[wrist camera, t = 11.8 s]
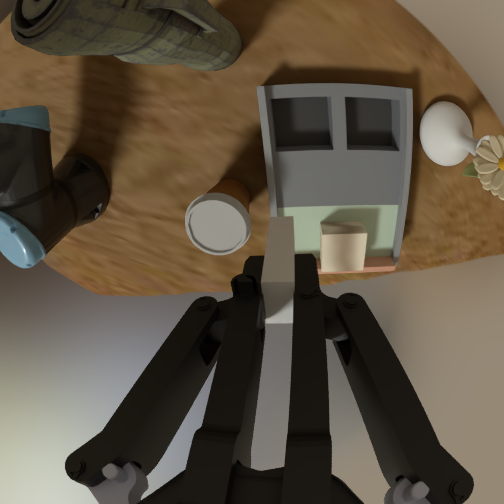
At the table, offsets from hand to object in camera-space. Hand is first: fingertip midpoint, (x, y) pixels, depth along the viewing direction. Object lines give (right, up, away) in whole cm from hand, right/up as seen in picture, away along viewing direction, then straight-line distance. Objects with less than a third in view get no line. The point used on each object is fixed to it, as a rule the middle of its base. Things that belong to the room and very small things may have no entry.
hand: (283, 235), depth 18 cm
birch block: (+13, +1, +27) cm, 30 cm away
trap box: (+12, +13, +24) cm, 30 cm away
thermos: (-8, +30, +15) cm, 35 cm away
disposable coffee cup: (-6, +9, +30) cm, 31 cm away
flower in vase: (+30, +19, +18) cm, 39 cm away
